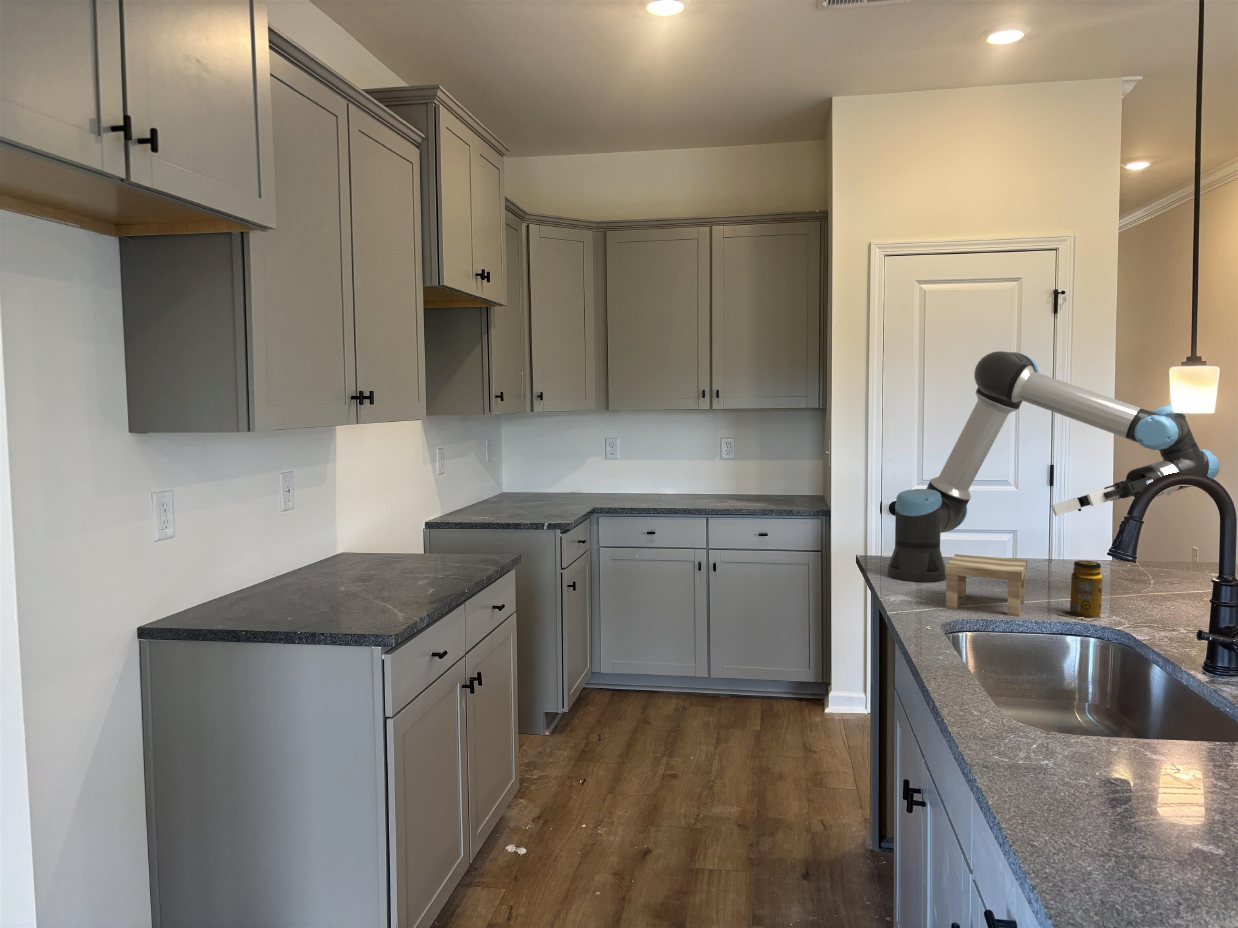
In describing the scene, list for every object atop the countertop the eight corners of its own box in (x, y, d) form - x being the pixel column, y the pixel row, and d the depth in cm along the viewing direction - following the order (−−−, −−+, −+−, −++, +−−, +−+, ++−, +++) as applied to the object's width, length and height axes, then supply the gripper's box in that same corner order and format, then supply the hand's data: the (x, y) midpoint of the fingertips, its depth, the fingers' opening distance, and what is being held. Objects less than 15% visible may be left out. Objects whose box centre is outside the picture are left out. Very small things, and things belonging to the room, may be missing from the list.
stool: (954, 593, 206) (955, 554, 206) (1025, 601, 198) (1026, 560, 198) (944, 607, 193) (945, 565, 192) (1020, 616, 185) (1021, 572, 184)
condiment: (1109, 616, 185) (1111, 563, 184) (1089, 621, 180) (1091, 567, 179) (1076, 609, 191) (1078, 557, 190) (1056, 614, 186) (1058, 562, 185)
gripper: (1199, 485, 180) (1113, 512, 177) (1122, 505, 204) (1046, 528, 201) (1184, 453, 181) (1099, 478, 178) (1110, 476, 206) (1034, 499, 203)
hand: (1071, 505), depth 190 cm, fingers open, 13 cm apart
